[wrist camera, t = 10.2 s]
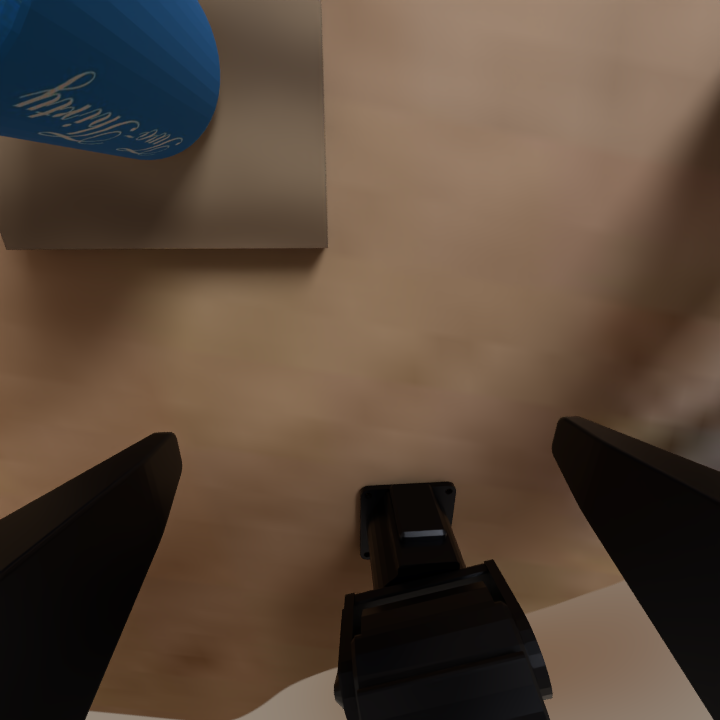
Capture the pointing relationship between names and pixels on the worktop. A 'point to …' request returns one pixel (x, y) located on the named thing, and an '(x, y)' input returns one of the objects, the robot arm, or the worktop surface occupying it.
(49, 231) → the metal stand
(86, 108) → the beverage can
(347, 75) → the worktop surface
